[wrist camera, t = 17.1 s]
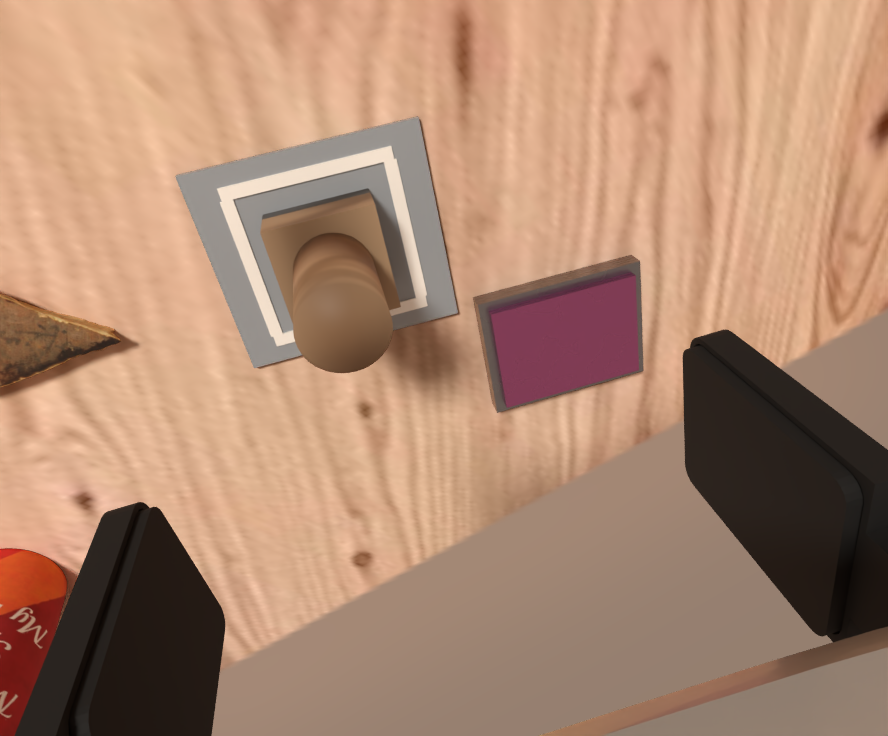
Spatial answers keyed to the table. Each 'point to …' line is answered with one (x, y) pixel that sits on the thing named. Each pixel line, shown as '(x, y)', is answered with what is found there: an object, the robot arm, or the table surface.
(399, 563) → the table surface
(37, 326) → the shard
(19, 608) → the paper cup
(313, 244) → the stamp
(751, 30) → the table surface
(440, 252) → the marked card
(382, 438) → the table surface
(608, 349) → the ink pad
